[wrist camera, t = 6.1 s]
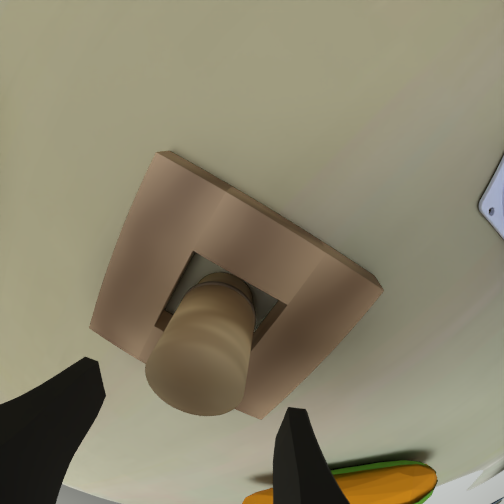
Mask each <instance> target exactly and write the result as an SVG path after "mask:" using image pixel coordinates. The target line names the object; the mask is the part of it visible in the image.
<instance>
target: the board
mask: <svg viewBox="0 0 504 504" xmlns="http://www.w3.org/2000/svg"><path fill="white" fill-rule="evenodd" d="M195 252H196V253H198V254H200V255H201V256H203V257H205V258H206V259H208V260H210V261H211V262H213V263H215V264H217V265H218V266H220V267H222V268H223V269H225V270H227V271H229V272H230V273H232V274H234V275H236V276H237V277H239V278H241V279H243V280H244V281H246V282H248V283H250V284H251V285H253V286H255V287H257V288H258V289H260V290H262V291H264V292H265V293H267V294H269V295H271V296H272V297H274V298H276V299H278V302H277V303H276V305H275V306H274V307H273V309H272V310H271V311H270V312H269V314H268V315H267V316H266V318H265V319H264V320H263V322H262V323H261V324H260V326H259V327H258V328H257V330H256V331H255V332H254V333H253V338H252V345H251V352H250V358H249V365H248V371H247V378H246V384H245V391H244V396H243V399H242V401H241V402H240V404H239V405H238V406H237V407H236V408H234V409H236V410H239V411H241V412H243V413H246V414H248V415H251V416H253V417H256V418H258V419H263V418H264V417H265V416H266V415H267V414H268V413H269V412H270V411H272V410H273V409H274V408H275V407H276V406H277V405H278V404H279V403H280V402H281V401H282V400H284V399H285V398H286V397H287V396H288V395H289V394H290V393H291V392H292V391H293V390H294V389H295V388H296V387H297V386H298V385H299V384H300V383H301V382H302V381H303V380H304V379H305V378H306V377H307V376H308V375H309V374H310V373H311V372H312V371H313V370H314V369H315V368H316V367H317V366H318V365H319V364H320V363H321V362H322V361H323V360H324V359H325V358H326V357H327V356H328V355H329V354H330V353H331V352H332V350H333V349H334V348H335V347H336V346H337V345H338V344H339V343H340V342H341V341H342V340H343V338H344V337H345V336H346V335H347V334H348V333H349V332H350V331H351V329H352V328H353V327H354V326H355V325H356V324H357V323H358V321H359V320H360V319H361V318H362V317H363V316H364V314H365V313H366V312H367V311H368V310H369V308H370V307H371V306H372V305H373V304H374V302H375V301H376V300H377V299H378V298H379V296H380V295H381V294H382V293H383V291H384V290H383V288H382V286H381V285H380V283H379V282H378V280H377V279H376V277H375V276H374V275H373V274H371V273H370V272H368V271H367V270H365V269H364V268H362V267H361V266H359V265H358V264H356V263H355V262H353V261H352V260H350V259H349V258H347V257H345V256H344V255H342V254H341V253H339V252H338V251H336V250H335V249H333V248H332V247H330V246H329V245H327V244H325V243H324V242H322V241H321V240H319V239H318V238H316V237H314V236H313V235H311V234H310V233H308V232H307V231H305V230H303V229H302V228H300V227H299V226H297V225H295V224H294V223H292V222H290V221H289V220H287V219H286V218H284V217H282V216H281V215H279V214H277V213H276V212H274V211H273V210H271V209H269V208H268V207H266V206H264V205H263V204H261V203H259V202H258V201H256V200H254V199H253V198H251V197H249V196H248V195H246V194H244V193H243V192H241V191H239V190H237V189H236V188H234V187H232V186H231V185H229V184H227V183H226V182H224V181H222V180H220V179H219V178H217V177H215V176H213V175H212V174H210V173H208V172H206V171H205V170H203V169H201V168H199V167H198V166H196V165H194V164H192V163H190V162H189V161H187V160H185V159H183V158H181V157H180V156H178V155H176V154H174V153H172V152H171V151H162V152H156V153H155V155H154V157H153V159H152V161H151V164H150V166H149V168H148V170H147V172H146V174H145V176H144V178H143V181H142V183H141V185H140V187H139V189H138V192H137V194H136V196H135V199H134V201H133V203H132V206H131V208H130V210H129V213H128V215H127V218H126V220H125V223H124V225H123V228H122V230H121V233H120V235H119V238H118V241H117V243H116V246H115V249H114V251H113V254H112V257H111V260H110V262H109V265H108V268H107V271H106V274H105V277H104V280H103V283H102V286H101V289H100V292H99V296H98V299H97V302H96V305H95V309H94V312H93V316H92V319H91V323H90V326H89V328H90V329H91V330H93V331H94V332H96V333H97V334H99V335H100V336H102V337H103V338H105V339H106V340H108V341H109V342H111V343H112V344H114V345H115V346H117V347H119V348H120V349H122V350H123V351H125V352H127V353H128V354H130V355H132V356H133V357H135V358H137V359H138V360H140V361H142V362H143V363H145V364H146V363H147V360H148V359H149V357H150V355H151V353H152V351H153V350H154V348H155V346H156V344H157V343H158V341H159V339H160V337H161V336H162V334H163V332H164V330H165V329H166V327H167V325H168V324H169V322H170V320H171V318H172V317H173V315H172V314H170V313H168V312H167V311H165V310H164V309H165V307H166V306H167V304H168V302H169V300H170V298H171V296H172V294H173V292H174V290H175V288H176V286H177V284H178V282H179V281H180V279H181V277H182V275H183V273H184V271H185V269H186V267H187V266H188V264H189V262H190V260H191V258H192V256H193V254H194V253H195Z"/></svg>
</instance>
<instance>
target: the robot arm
mask: <svg viewBox="0 0 504 504" xmlns="http://www.w3.org/2000/svg"><path fill="white" fill-rule="evenodd" d="M490 208H491V212H490V213H489V209H490ZM479 210H480V212H481V213H482V214H483V215H484V217H485V218H486V219H487V220H488V221H489V222H490V224H491V225H492V226H493V227H494V228H495V230H496V231H497V232H498V233H499V235H500V236H501V237H502V238H503V240H504V156H503V158H502V160H501V162H500V164H499V166H498V168H497V170H496V172H495V174H494V176H493V178H492V180H491V182H490V183H489V185H488V187H487V189H486V191H485V193H484V194H483V196H482V198H481V200H480V202H479ZM105 397H106V394H105V390H104V386H103V382H102V377H101V373H100V368H99V363H98V361H95V360H93V359H90V358H87V357H84V358H83V359H81V360H79V361H78V362H76V363H75V364H73V365H71V366H70V367H68V368H67V369H65V370H64V371H62V372H61V373H59V374H58V375H56V376H54V377H53V378H51V379H49V380H48V381H46V382H45V383H43V384H41V385H40V386H38V387H36V388H34V389H32V390H31V391H29V392H27V393H25V394H23V395H21V396H19V397H17V398H15V399H13V400H10V401H8V402H5V403H3V404H0V504H56V500H57V496H58V493H59V490H60V488H61V485H62V482H63V479H64V476H65V474H66V471H67V469H68V466H69V464H70V462H71V460H72V458H73V456H74V454H75V452H76V451H77V449H78V447H79V445H80V444H81V442H82V440H83V439H84V437H85V435H86V434H87V432H88V431H89V429H90V427H91V425H92V424H93V422H94V420H95V419H96V417H97V415H98V413H99V411H100V408H101V406H102V404H103V401H104V399H105ZM273 504H350V502H349V501H348V499H347V498H346V496H345V495H344V493H343V492H342V490H341V489H340V487H339V485H338V483H337V482H336V480H335V478H334V476H333V474H332V472H331V471H330V469H329V467H328V465H327V463H326V460H325V458H324V456H323V454H322V451H321V449H320V447H319V444H318V442H317V439H316V437H315V434H314V432H313V429H312V426H311V423H310V420H309V417H308V413H307V411H306V410H305V409H300V408H291V407H288V409H287V411H286V414H285V416H284V419H283V421H282V424H281V426H280V429H279V431H278V433H277V436H276V440H275V448H274V457H273Z"/></svg>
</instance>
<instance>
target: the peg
mask: <svg viewBox="0 0 504 504" xmlns="http://www.w3.org/2000/svg"><path fill="white" fill-rule="evenodd" d="M255 322H256V314H255V309H254V307H253V304H252V294H251V291H250V289H249V288H248V286H247V285H246V284H245V283H244V282H243V281H242V280H241V279H240V278H238V277H236V276H234V275H232V274H229V273H221V272H220V273H213V274H210V275H207V276H206V277H204V278H203V279H202V280H201V281H200V282H199V283H198V284H197V285H195V286H193V287H192V288H190V289H189V290H188V291H187V292H186V294H185V295H184V297H183V299H182V300H181V303H180V305H179V306H178V308H177V310H176V312H175V313H174V315H173V317H172V318H171V320H170V322H169V324H168V325H167V327H166V329H165V330H164V332H163V334H162V336H161V337H160V339H159V341H158V343H157V344H156V346H155V348H154V350H153V351H152V353H151V355H150V357H149V359H148V360H147V363H146V367H145V373H146V378H147V381H148V383H149V385H150V387H151V388H152V390H153V391H154V392H155V393H156V394H157V395H158V396H159V397H160V398H161V399H162V400H163V401H165V402H166V403H167V404H169V405H170V406H172V407H174V408H176V409H178V410H181V411H183V412H186V413H189V414H194V415H199V416H216V415H221V414H225V413H227V412H230V411H231V410H233V409H234V408H236V407H237V406H238V405H239V404H240V402H241V401H242V399H243V396H244V391H245V384H246V378H247V371H248V365H249V358H250V352H251V345H252V338H253V332H254V328H255Z"/></svg>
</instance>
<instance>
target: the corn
mask: <svg viewBox="0 0 504 504" xmlns="http://www.w3.org/2000/svg"><path fill="white" fill-rule="evenodd" d="M330 471H331V472H332V474H333V476H334V478H335V480H336V482H337V483H338V485H339V487H340V489H341V490H342V492H343V493H344V495H345V496H346V498H347V499H348V501H349V502H350V504H422V503H424V502H425V501H426V500H427V499H428V498H429V497H430V496H431V495H432V493H433V490H434V488H435V486H436V484H437V481H438V480H437V476H436V471H435V470H434V469H432V468H431V467H430V466H428V465H427V464H424V463H422V462H417V461H407V460H401V461H390V462H378V463H373V464H368V465H362V466H355V467H349V468H342V469H336V470H330ZM242 504H273V488H270V489H267V490H263V491H259V492H256V493H254V494H252V495H250V496H248V497H246V498H245V499H244V501H243V503H242Z"/></svg>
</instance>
